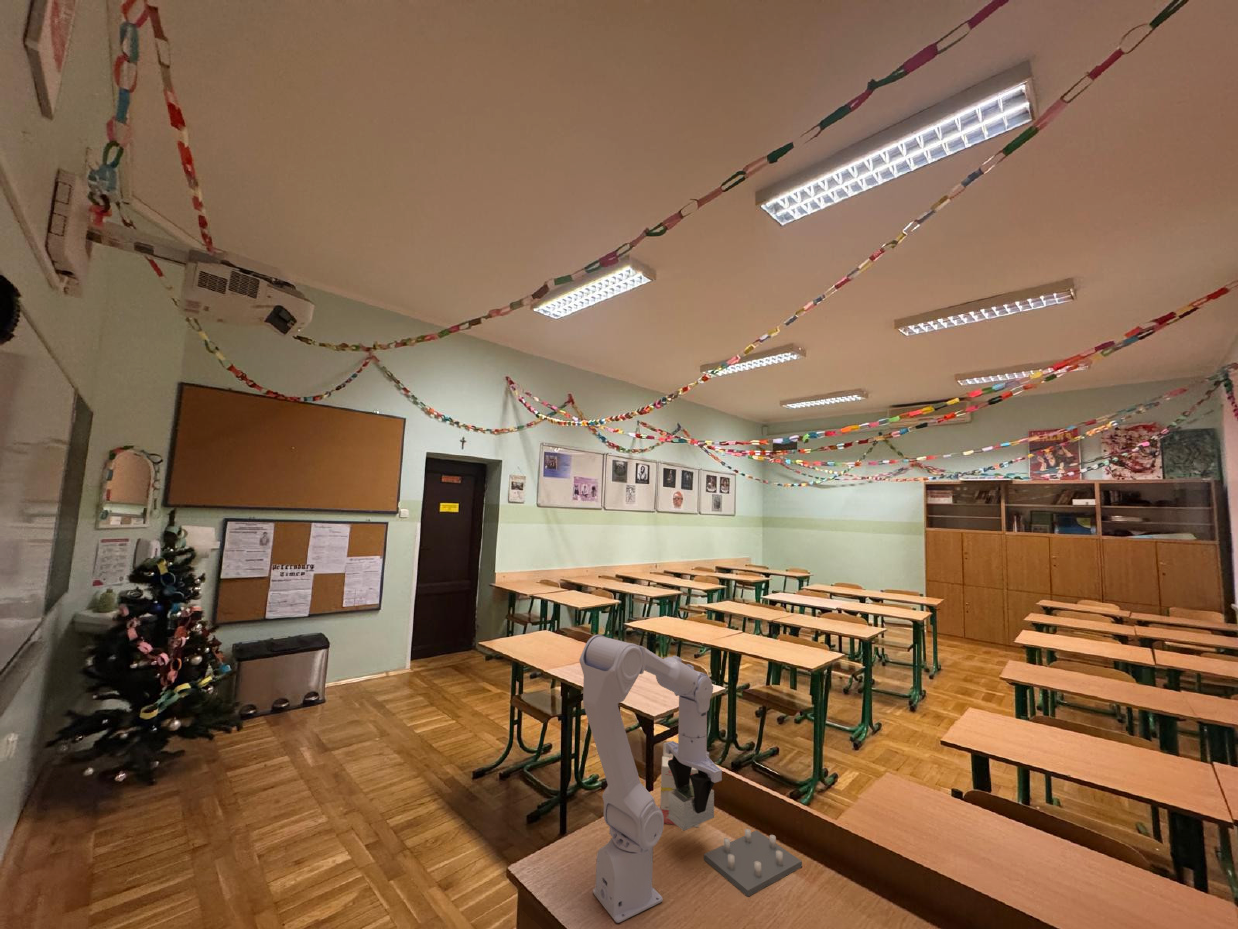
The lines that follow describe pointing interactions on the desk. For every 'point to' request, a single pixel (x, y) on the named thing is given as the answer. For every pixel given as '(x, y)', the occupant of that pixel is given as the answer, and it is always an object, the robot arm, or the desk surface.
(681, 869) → the desk surface
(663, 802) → the ink cartridge box
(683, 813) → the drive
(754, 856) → the pin tray
